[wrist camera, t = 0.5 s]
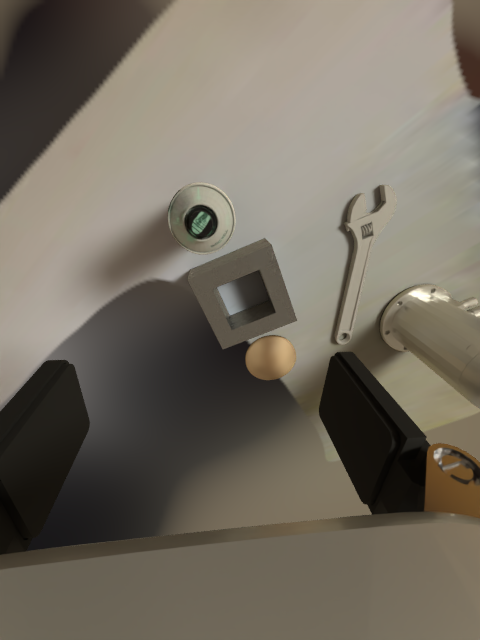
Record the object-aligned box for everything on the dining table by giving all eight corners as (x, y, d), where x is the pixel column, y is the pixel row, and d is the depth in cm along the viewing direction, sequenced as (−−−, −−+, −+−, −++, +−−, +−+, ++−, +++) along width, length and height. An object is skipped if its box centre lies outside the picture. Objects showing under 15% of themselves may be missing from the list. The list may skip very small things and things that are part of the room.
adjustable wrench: (346, 340, 49) (350, 345, 48) (312, 338, 49) (315, 343, 47) (395, 188, 39) (403, 189, 37) (352, 183, 38) (358, 183, 36)
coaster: (286, 327, 47) (287, 330, 46) (300, 367, 51) (301, 369, 50) (237, 346, 47) (238, 348, 47) (255, 383, 51) (256, 386, 51)
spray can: (185, 224, 38) (160, 258, 20) (188, 181, 36) (161, 175, 18) (224, 229, 39) (233, 266, 21) (229, 187, 36) (243, 188, 19)
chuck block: (265, 238, 40) (271, 244, 35) (288, 307, 45) (297, 320, 40) (190, 269, 41) (187, 279, 36) (221, 333, 46) (222, 349, 42)
